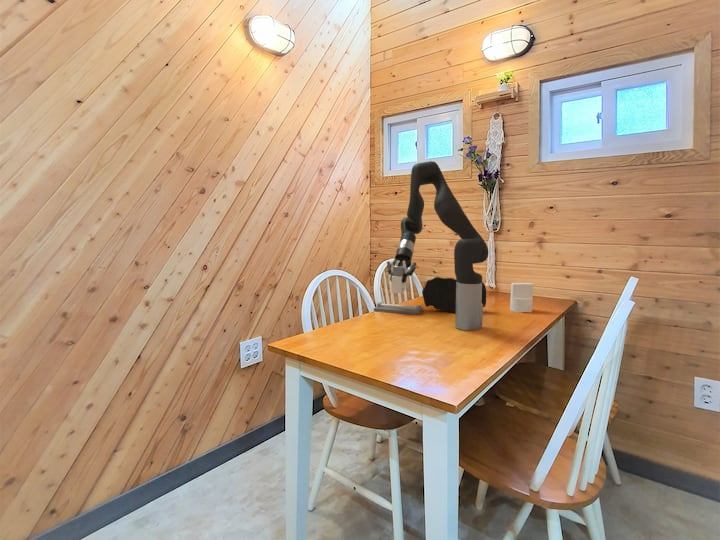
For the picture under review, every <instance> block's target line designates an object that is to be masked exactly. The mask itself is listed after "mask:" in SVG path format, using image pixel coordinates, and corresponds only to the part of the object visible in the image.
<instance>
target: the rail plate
mask: <svg viewBox="0 0 720 540" xmlns="http://www.w3.org/2000/svg"><path fill="white" fill-rule="evenodd" d="M379 311H385V312H384V313H390V312H393V313H394V314H402V313H403V314H405V315H412V316H413V315H417V316H418V315H420V314H421V313H422V312H423V311H424V307H423V306H421V304H417V305H415V306H414V305H406V304H405V305H402V304H391V303H383V302H382V301H378V302H377V303H376V306H375V307H374V308H373V312H379ZM393 313H392V314H393Z"/></svg>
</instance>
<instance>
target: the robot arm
mask: <svg viewBox="0 0 720 540" xmlns="http://www.w3.org/2000/svg"><path fill="white" fill-rule="evenodd" d="M410 172H411V173H410V189H409V203H408V206H407V207H408V208H407V211H406V217H404V218H402V219H401V222H400V234H401V235H400V240H399V243H398V246H397V248H396V252H395V257H394V260H393V261H391V262H390V261H389V260H388V261H387V262H386V265H387V266H386V267H387V273H388V275H389V281H390V282H391V283H392V276H393V269H392V268H393V267H394V266H402V267H405V268H404V274H403V278H402V283H404V282H406V283H407V278H408V277H410V276H413V274H414V272H415V271H416V269H417V268H418V266H417V263H416V262H412V259H413V254H414V250H415V245H416V240H417V236H416V235H418V234H420V233H421V232H422V231H423V219H422V217H423V213H424V209H425V200H424V197H423V196H422V194H421V193H420V188H421V187H422V186H424V185H426V186H427V185H433V186H434V188H435V198H434V200H433V201H434V202H433V208H434V212H435V213H436V214H437V217H438V218H439V220H440V221H441V223H442V224H443V225H444V226H446V227H447V228H448V229H450V230H451V231H452V232H454V233H455V234H456V235H457V236H459V238H460V239H458V241H457V242H456V243H455V245H454V252H453V259H454V260H453V262H454V263H453V264H454V275H455V279H456V311H455V312H454V313H455V314H454V315H455V317H454V319H455V320H454V326H455V327H454V328H456V329H459V330H462V331H477V330H483V321H484V320H483V319H484V317H483V316H484V307H483V304H482V303H481V300H482V282H483V275H482V274H480V273H479V272H477V271H475V270H474V264H481V263H484V262H486V260H488V257H489V248H488V245H487V243H486V241H485V240H484V238H483V237H482V236H481V234H480V233H479V232H478V231H477V230H476V228H475V226H473V224H472V222H471V221H470V219H469V217H467V214H466V213H465V212H464V210H463V208H462V207H461V205H460V203H459V201H458V199H457V198H456V197H455V196H454V194H453V192H452V190H451V189H450V187H449V184H448V182H447V181H446V179H445V177H444V175H443V172H442V170H441V168H440V167H439V164H438V163H437V162H435V161H432V160H431V161H423V162H417V163H414V165H413V166H412V168H411V171H410ZM408 269H409V270H408Z"/></svg>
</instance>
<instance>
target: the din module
mask: <svg viewBox="0 0 720 540" xmlns="http://www.w3.org/2000/svg"><path fill="white" fill-rule="evenodd" d="M404 268H405V267H402V266H394V265H393V266H392V270H393V276H392V282H391V293H394V294H403V292H405V291H406V285H407V284H406V283H407V281H406V282H404V283H402V278H403V274H404Z"/></svg>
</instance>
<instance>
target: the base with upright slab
mask: <svg viewBox="0 0 720 540" xmlns="http://www.w3.org/2000/svg"><path fill="white" fill-rule="evenodd" d="M533 297H534V283H532V282H511V283H510V300H509V301H510V302H509V303H510V305H509V310H510V311H511V312H513V311H514V312H515V313H519V312H530V313H532V312H533V299H534V298H533ZM514 312H513V313H514Z"/></svg>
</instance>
